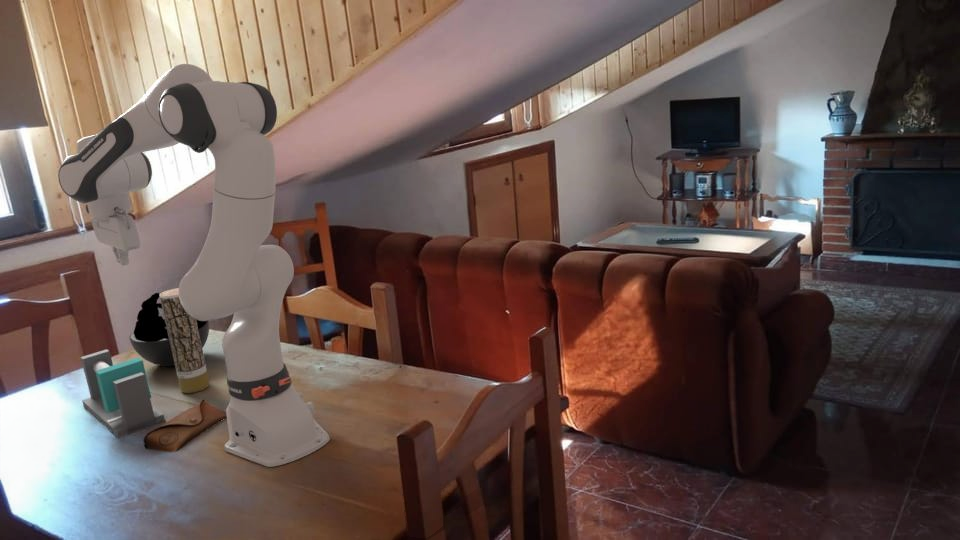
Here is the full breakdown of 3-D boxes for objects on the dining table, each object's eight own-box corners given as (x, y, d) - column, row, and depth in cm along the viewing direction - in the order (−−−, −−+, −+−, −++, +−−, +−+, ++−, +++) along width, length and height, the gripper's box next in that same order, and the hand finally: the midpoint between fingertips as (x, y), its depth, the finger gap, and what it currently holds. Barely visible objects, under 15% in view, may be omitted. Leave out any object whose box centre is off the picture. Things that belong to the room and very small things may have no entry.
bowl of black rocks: (211, 369, 193) (197, 301, 188) (130, 383, 189) (113, 314, 184) (219, 344, 212) (206, 281, 207) (145, 356, 208) (130, 293, 203)
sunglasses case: (175, 453, 150) (156, 426, 150) (156, 465, 153) (138, 439, 153) (234, 413, 166) (217, 388, 166) (216, 425, 169) (199, 401, 169)
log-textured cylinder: (203, 393, 179) (182, 295, 172) (176, 395, 179) (154, 297, 172) (213, 381, 185) (194, 286, 179) (187, 383, 186) (166, 289, 179)
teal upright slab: (151, 397, 168) (142, 360, 166) (109, 412, 162) (99, 374, 160) (146, 394, 170) (138, 357, 168) (104, 409, 164) (95, 371, 162)
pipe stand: (165, 420, 166) (153, 371, 163) (118, 438, 160) (106, 387, 156) (126, 391, 185) (115, 346, 182) (83, 406, 178) (71, 360, 175)
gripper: (140, 206, 163) (153, 266, 167) (110, 200, 178) (123, 255, 182) (110, 212, 159) (124, 273, 163) (82, 205, 174) (96, 262, 178)
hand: (123, 264), depth 173 cm, fingers closed
